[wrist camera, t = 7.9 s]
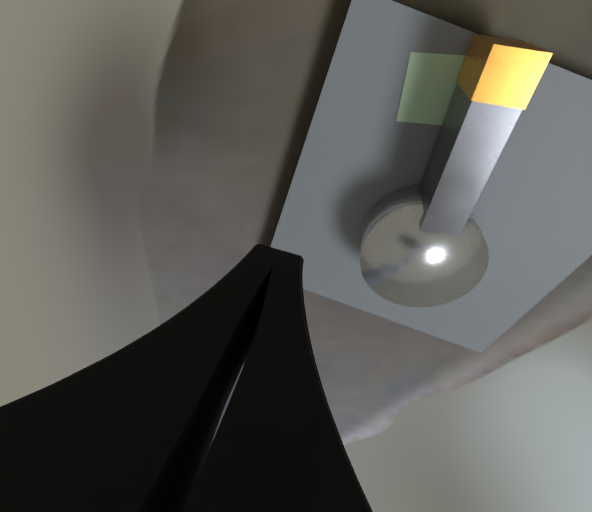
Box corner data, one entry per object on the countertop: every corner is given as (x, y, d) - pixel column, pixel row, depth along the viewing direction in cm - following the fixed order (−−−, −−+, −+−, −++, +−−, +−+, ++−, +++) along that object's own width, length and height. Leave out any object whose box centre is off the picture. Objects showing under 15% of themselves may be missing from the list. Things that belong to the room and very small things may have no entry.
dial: (352, 264, 20) (348, 301, 18) (418, 24, 13) (427, 33, 11) (450, 284, 20) (460, 325, 17) (577, 48, 12) (622, 63, 10)
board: (477, 338, 24) (481, 353, 23) (266, 262, 23) (261, 274, 22) (704, 124, 14) (728, 134, 13) (358, -15, 14) (356, -14, 13)
